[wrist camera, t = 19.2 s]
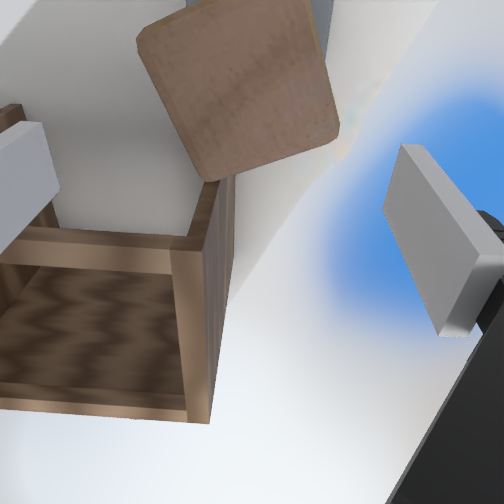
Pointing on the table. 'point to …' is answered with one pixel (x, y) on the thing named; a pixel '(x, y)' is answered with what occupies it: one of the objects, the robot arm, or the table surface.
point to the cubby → (116, 314)
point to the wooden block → (241, 82)
